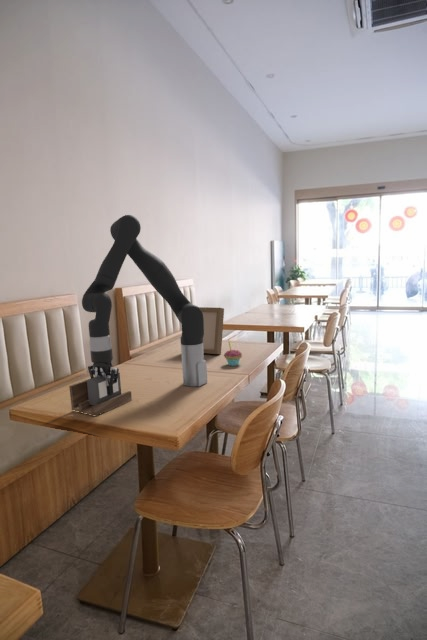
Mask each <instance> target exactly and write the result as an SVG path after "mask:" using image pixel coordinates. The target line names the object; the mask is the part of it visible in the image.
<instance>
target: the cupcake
mask: <svg viewBox="0 0 427 640" xmlns="http://www.w3.org/2000/svg"><path fill="white" fill-rule="evenodd" d="M228 346H229V350H227V351H226V352H225V353H224V354H223V357H224V359H226V362H227V364H228V366H232V367H234V366H235V367H236V366H239V364H240V359H241V358H242V357H243V354H242V353H243V352H241V351H240V350H236V349H232V346H231V342H230V340H229V339H228Z"/></svg>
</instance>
